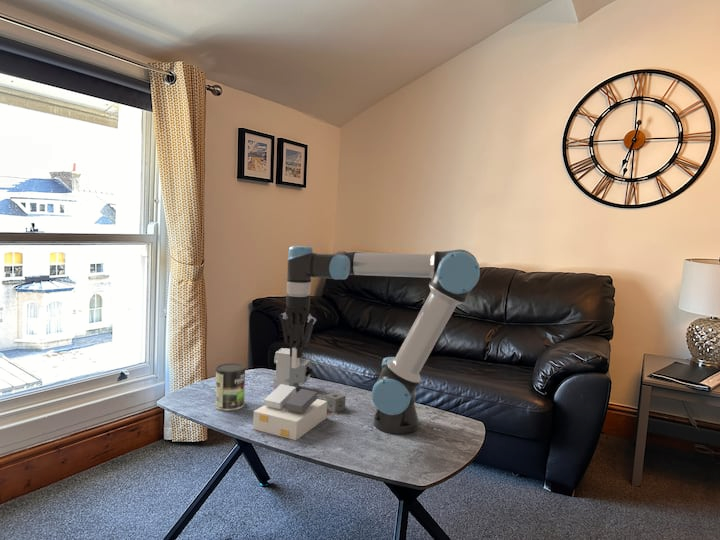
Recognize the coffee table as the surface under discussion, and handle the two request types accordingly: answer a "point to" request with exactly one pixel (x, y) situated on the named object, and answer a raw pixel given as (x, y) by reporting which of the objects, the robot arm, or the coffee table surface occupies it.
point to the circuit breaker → (290, 370)
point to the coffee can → (230, 386)
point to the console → (289, 420)
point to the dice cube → (335, 402)
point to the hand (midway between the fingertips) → (295, 366)
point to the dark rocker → (301, 401)
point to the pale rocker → (280, 396)
